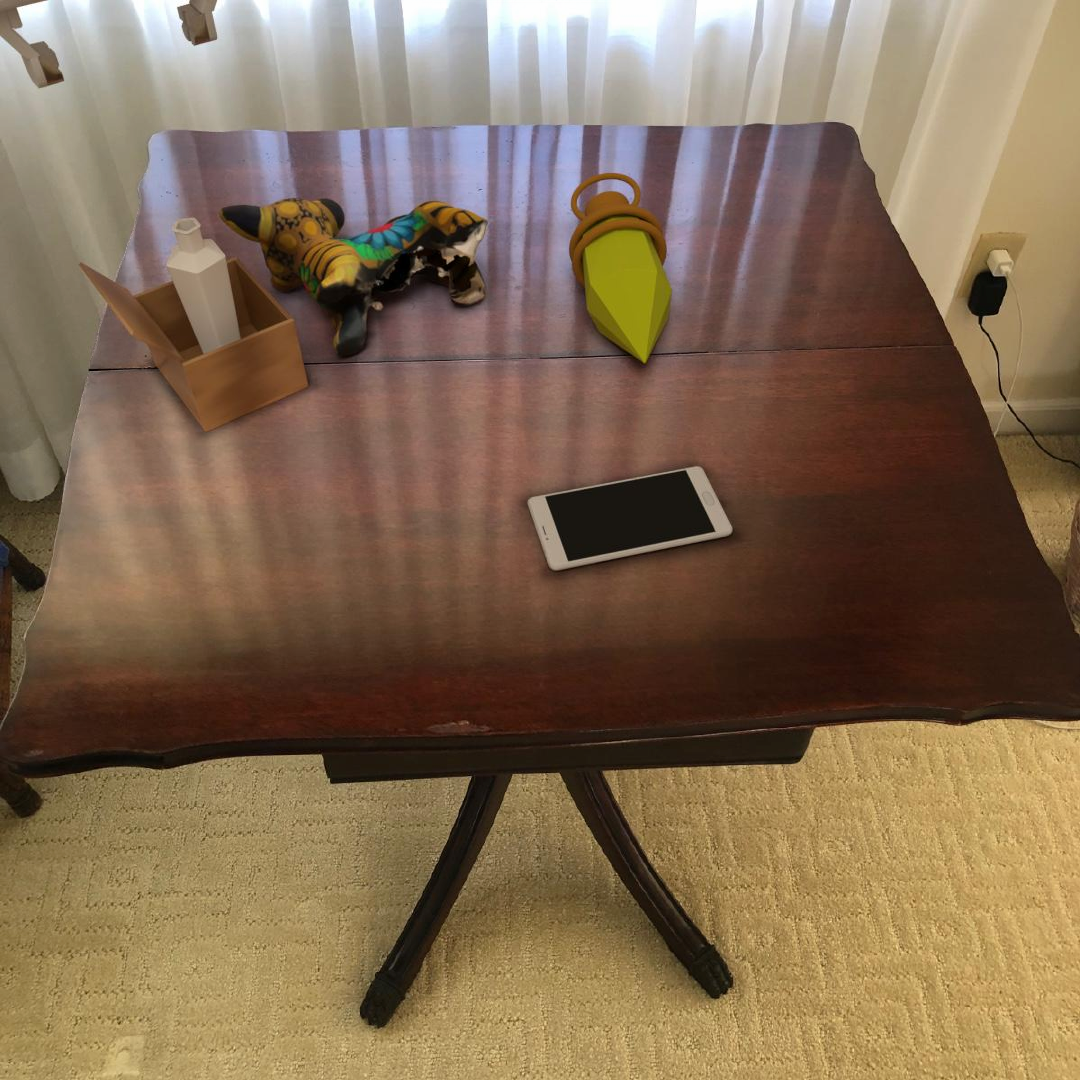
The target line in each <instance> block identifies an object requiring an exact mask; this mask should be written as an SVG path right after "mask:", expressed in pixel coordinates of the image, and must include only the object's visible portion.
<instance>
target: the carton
mask: <svg viewBox="0 0 1080 1080" xmlns="http://www.w3.org/2000/svg"><path fill="white" fill-rule="evenodd" d="M226 262H227V268H228V273H229V279H230V284H231V289H232V295H233V300H234V305H235V311H236V316H237V321H238V327H239V332H240V337H241V339H240V340H237V341H235V342H232V343H230V344H228V345H225V346H223V347H220V348H218V349H215V350H213V351H211V352H208V353H206V354H203V352H202V349H201V347H200V344H199V342H198V340H197V337H196V335H195V333H194V330H193V328H192V326H191V323H190V321H189V318H188V316H187V314H186V311H185V309H184V307H183V304H182V302H181V300H180V297H179V295H178V292H177V290H176V288H175V285H174V283H173V281H172V280H171V281H168V282H166V283H162V284H160V285H157V286H156V287H155V286H154V287H152V288H150V289H147V290H145V291H141V292H139V293H136V294H134V295H133V294H132V295H133V297H134V298H135V299H136V301H137V302H138V303H139V304H140V306H141V307H142V308H143V310H144V311H145V312H146V313H147V315H148V316H149V317H150V319H151V320H152V321H153V322H154V324H155V325H156V326H157V328H158V329H159V330H160V331H161V333H162V334H163V335H164V337H165V338H166V339H167V340H168V342H169V343H170V344H171V346H172V347H173V348H174V349H175V351H176V352H177V353H178V355H179V356H180V357H181V360H180V361H178V360H176V359H174V358H172V357H171V356H169V355H167V354H165V353H163V352H161V351H159V350H158V349H156V348H154V347H152V346H150V345H148V344H147V347H148V349H149V352H150V355H151V357H152V360H153V363H154V365H155V366H156V367H157V369H158V370H159V371H160V373H161V374H162V375H163V377H164V378H165V379H166V381H167V382H168V384H169V385H170V387H171V388H172V389H173V390H174V391H175V393H176V395H178V397H179V399H181V401H182V402H183V403H184V405H185V406H186V407H187V409H188V410H189V411H190V413H191V415H192V416H193V417H194V418H195V419H196V421H197V422H198V423H199V425H200V426H201V428H202V429H203V430H204V431H205V432H206V433H208V432H210V431H212V430H214V429H216V428H218V427H221V426H223V425H226V424H228V423H230V422H233V421H234V420H237V419H239V418H241V417H243V416H246V415H249V414H250V413H252V412H255V411H257V410H260V409H262V408H264V407H266V406H268V405H270V404H272V403H273V404H274V403H275V402H278V401H279V400H282V399H284V398H286V397H289V396H291V395H293V394H296V393H299V392H300V391H302V390H305V389H306V388H309V382H308V378H307V372H306V368H305V364H304V359H303V354H302V350H301V346H300V341H299V337H298V332H297V326H296V323H295V319H293V317H292V316H291V315H290V313H288V312H287V311H286V309H285V308H283V306H282V305H281V304H280V303H279V302H278V301H277V300H276V298H275V297H273V296H272V294H271V293H270V292H269V291H268V290H267V289H266V288H265V287H264V286H263V284H261V282H260V281H259V280H258V279H257V278H256V277H255V276H254V275H253V274H252V272H250V270H249V269H248V268H247V267H246V266H245V265H244V264H243V263H242V262H241V261H240V259H239V258H238V257H237V256H235V257H234V256H233V257H232V258H229V259H226Z"/></svg>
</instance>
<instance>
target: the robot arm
mask: <svg viewBox="0 0 1080 1080" xmlns="http://www.w3.org/2000/svg"><path fill="white" fill-rule="evenodd" d="M47 1H48V0H0V37H1V38H2V39H3V40H4V41H5V42H6V43H8V44H9V46H10V47H12V48H13V49H14V50H15V51H16V52H17V53H19V55H20V57H21V59H22V61H23V63H24V67H25V70H26V72H27V74H28V76H29V78H30V79H31V81H32V83H33V84H34V85H35V86H36V88H37V89H42V88H47V87H50V86H53V85H56V84H59V83H62V82H65V77H64V75H63V71H61V69H59V67H60V63H59V59H58V57H57V55H56V52H55V51H54V50H53V49H52V48H51V47H49V45H48V44H47V42H46V41H44V40H43V41H37V42H34V43H29V42H28V41H27V40H26V39H25V38H24V37H23V36H21V34H20V33H18V32H17V29H21V28H23V22H22V18H21V16H20V13H19V10H18V8H21V7H26V6H29V5H33V4H38V3H42V2H47ZM217 2H218V0H188V3H186V4H183V5H179V6H176V9H177V13H178V18H179V19H180V21H182V23H181V29H182V33H183V34H184V37H185V39H186V41H188V42H191V45H192V46H194V47H195V46H199V45H203V44H206V43H210V42H214V41H217V40H218V32H217V29H216V28H217V27H216V24H215V18H214V14H213V12H215V9H216V5H217Z"/></svg>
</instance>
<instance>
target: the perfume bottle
mask: <svg viewBox="0 0 1080 1080" xmlns="http://www.w3.org/2000/svg"><path fill="white" fill-rule="evenodd" d="M201 226H202V225H201V223H200V222H199V220H197V219H196V218H195V217H186V218H185V217H184V218H181V219H180V218H179V219H176V220H175V221H174V223H173V226H172V228H171V231H172V232H173V233H174V234H175V237H176V240H177V243H175V244H174V245H173V247H172V249H171V251H170V254H169V256H168V259H167V261H166V263H165V266H166V268H167V272H168V273H169V276H170V278H171V281H173V283H174V285H175V288H176V290H177V292H178V295H179V297H180V300H181V302H182V304H183V307H184V309H185V311H186V314H187V316H188V318H189V321H190V323H191V326H192V328H193V330H194V333H195V335H196V337H197V340H198V342H199V344H200V347H201V349H202V352H203V354H206V353H208V352H211V351H213V350H215V349H218V348H220V347H223V346H225V345H228V344H230V343H232V342H235V341H237V340H240V339H241V337H240V332H239V327H238V321H237V316H236V311H235V305H234V300H233V295H232V289H231V284H230V279H229V273H228V268H227V262H226V260H227V258H226V255H225V253H224V252H223V251H222V249H221V248H220V246H218V244H217V243H216V242H215V241H214V240H213V239H211V238H204V239H203V235H202V232H201Z"/></svg>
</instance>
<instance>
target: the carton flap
mask: <svg viewBox="0 0 1080 1080" xmlns="http://www.w3.org/2000/svg"><path fill="white" fill-rule="evenodd" d="M78 266H79V267H80V269H81V270H82V271H83V273H84V274H85V276H86V277H87V278H88V279H89V281H90V282H91V283H92V285H93V286H94V287H95V289H96V290H97V291H98V293H99V294H100V295H101V297H102V298H103V299H104V301H105V302H106V304H107V305H108V306H109V308H110V309H111V310H112V311H113V313H114V314H115V316H116V317H117V318H118V320H119V321H120V322H121V324H122V325H123V326H124V327H125V329H126V330H127V331H128V333H129V334H130V335H131V337H133V338H136V339H137V340H139V341H141V342H143V343H145V344H146V345H147V346H148V345H150V346H152V347H154V348H156V349H158V350H159V351H161V352H163V353H165V354H167V355H169V356H171V357H172V358H174V359H176V360H178V361H180V360H181V357H180V356H179V355H178V353H177V352H176V351H175V349H174V348H173V347H172V346H171V344H170V343H169V342H168V340H167V339H166V338H165V337H164V335H163V334H162V333H161V331H160V330H159V329H158V328H157V326H156V325H155V324H154V322H153V321H152V320H151V319H150V317H149V316H148V315H147V313H146V312H145V311H144V310H143V308H142V307H141V306H140V304H139V303H138V302H137V301H136V299H135V298H134V297H133V294H132V292H130V290H129V289H128V288H126V287H125V286H122V285H121V284H119V283H118V282H116V281H114V280H112V279H111V278H109V277H107V276H106V275H104V274H102V273H101V272H99V271H97V270H95V269H94V268H91V266H88V265H87V264H85V263H84V262H79V263H78Z"/></svg>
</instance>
